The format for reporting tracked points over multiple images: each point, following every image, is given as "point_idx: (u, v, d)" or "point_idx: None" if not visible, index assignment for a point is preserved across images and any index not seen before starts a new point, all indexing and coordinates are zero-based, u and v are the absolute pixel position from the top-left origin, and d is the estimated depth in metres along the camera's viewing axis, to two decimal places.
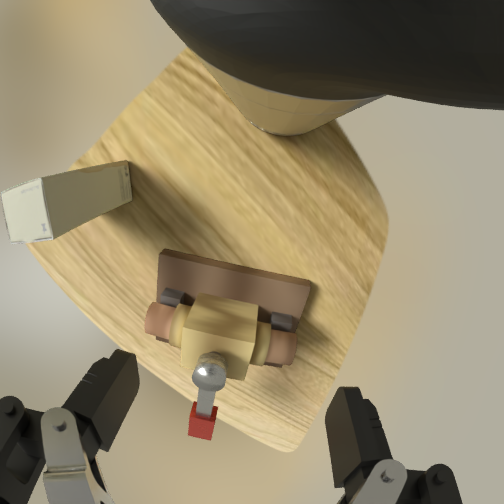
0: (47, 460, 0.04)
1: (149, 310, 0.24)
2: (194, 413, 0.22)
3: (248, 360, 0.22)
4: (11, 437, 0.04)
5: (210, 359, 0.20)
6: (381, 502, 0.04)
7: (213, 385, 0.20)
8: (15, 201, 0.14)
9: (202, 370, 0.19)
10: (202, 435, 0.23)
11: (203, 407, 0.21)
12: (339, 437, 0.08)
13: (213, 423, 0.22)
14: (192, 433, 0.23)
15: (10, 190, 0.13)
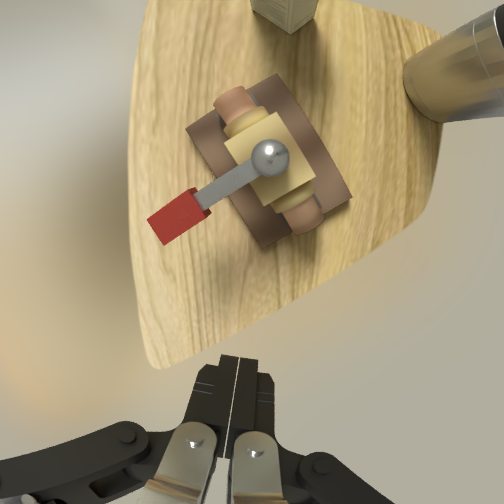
0: (159, 468, 0.05)
1: (242, 87, 0.21)
2: (192, 193, 0.19)
3: (292, 187, 0.21)
4: (114, 466, 0.04)
5: None
6: (263, 478, 0.05)
7: (268, 166, 0.18)
8: None
9: (279, 142, 0.17)
10: (163, 231, 0.20)
11: (215, 190, 0.19)
12: None
13: (202, 218, 0.19)
14: (155, 220, 0.19)
15: None
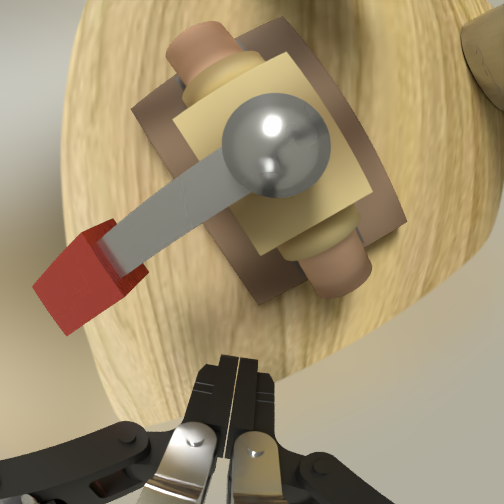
0: (160, 468, 0.05)
1: (219, 23, 0.09)
2: (96, 237, 0.08)
3: (324, 215, 0.10)
4: (114, 466, 0.04)
5: None
6: (263, 478, 0.05)
7: (272, 168, 0.06)
8: None
9: (302, 103, 0.06)
10: (59, 311, 0.08)
11: (140, 232, 0.07)
12: None
13: (117, 297, 0.08)
14: (44, 290, 0.08)
15: None
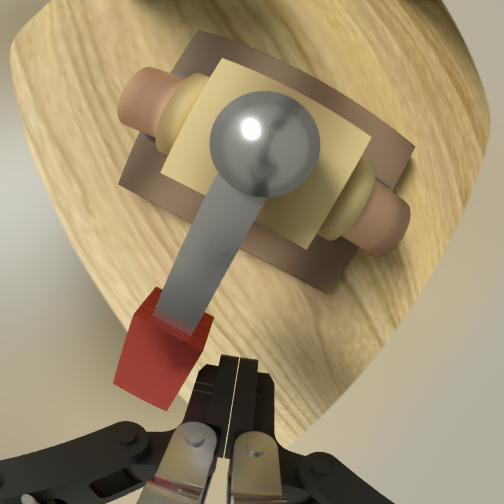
0: (160, 468, 0.05)
1: (148, 68, 0.10)
2: (149, 311, 0.08)
3: (342, 182, 0.09)
4: (114, 466, 0.04)
5: None
6: (263, 478, 0.05)
7: (273, 166, 0.06)
8: None
9: (265, 94, 0.06)
10: (149, 392, 0.09)
11: (187, 286, 0.08)
12: (232, 406, 0.09)
13: (196, 354, 0.08)
14: (125, 380, 0.09)
15: None
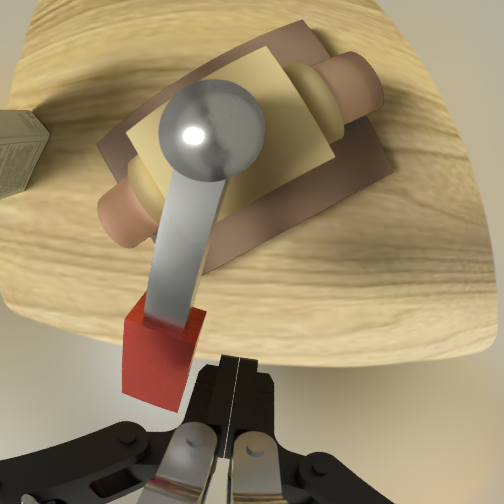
0: (160, 468, 0.05)
1: (100, 199, 0.12)
2: (140, 314, 0.08)
3: (293, 91, 0.08)
4: (114, 466, 0.04)
5: None
6: (263, 478, 0.05)
7: (222, 149, 0.06)
8: None
9: (202, 83, 0.06)
10: (156, 396, 0.09)
11: (168, 283, 0.08)
12: (232, 406, 0.09)
13: (190, 349, 0.08)
14: (132, 388, 0.09)
15: None
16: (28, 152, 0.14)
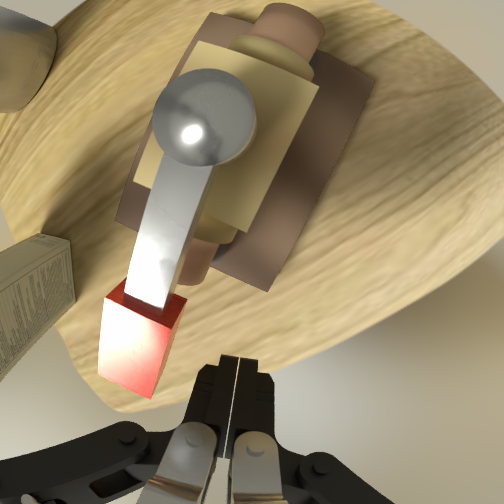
0: (160, 467, 0.05)
1: None
2: (121, 295, 0.08)
3: (247, 58, 0.08)
4: (114, 466, 0.04)
5: None
6: (263, 478, 0.05)
7: (211, 136, 0.06)
8: None
9: (198, 72, 0.06)
10: (130, 380, 0.09)
11: (149, 264, 0.08)
12: None
13: (166, 333, 0.08)
14: (108, 369, 0.09)
15: None
16: (59, 266, 0.17)
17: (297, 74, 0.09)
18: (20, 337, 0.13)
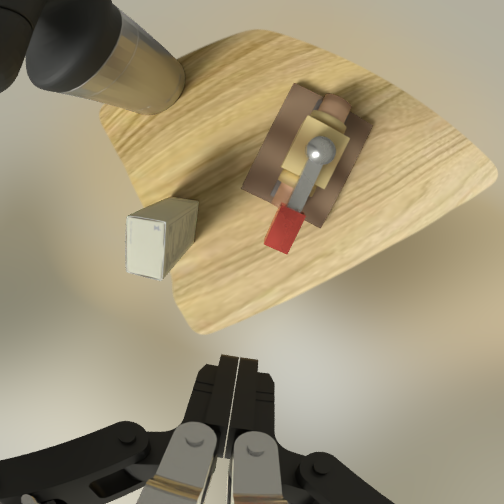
0: (159, 468, 0.05)
1: (273, 202, 0.29)
2: (285, 205, 0.25)
3: (325, 125, 0.24)
4: (114, 466, 0.04)
5: None
6: (263, 478, 0.05)
7: (324, 156, 0.23)
8: (135, 253, 0.25)
9: (320, 137, 0.22)
10: (281, 244, 0.25)
11: (300, 193, 0.24)
12: None
13: (303, 218, 0.24)
14: (271, 240, 0.25)
15: (126, 258, 0.26)
16: (194, 215, 0.34)
17: (341, 130, 0.26)
18: (177, 252, 0.29)
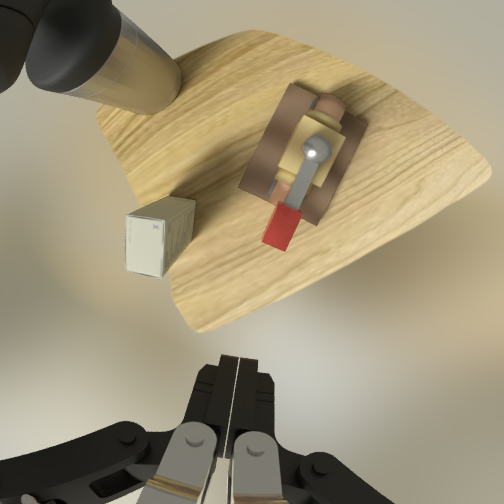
0: (160, 467, 0.05)
1: (270, 200, 0.30)
2: (282, 203, 0.25)
3: (321, 125, 0.25)
4: (114, 466, 0.04)
5: None
6: (263, 478, 0.05)
7: (320, 155, 0.23)
8: (134, 252, 0.25)
9: (317, 136, 0.23)
10: (278, 241, 0.26)
11: (297, 192, 0.25)
12: None
13: (300, 215, 0.25)
14: (269, 237, 0.26)
15: (126, 256, 0.26)
16: (191, 214, 0.34)
17: (336, 129, 0.26)
18: (175, 250, 0.30)
